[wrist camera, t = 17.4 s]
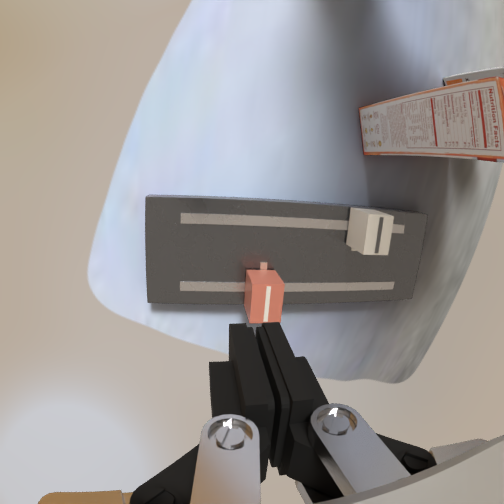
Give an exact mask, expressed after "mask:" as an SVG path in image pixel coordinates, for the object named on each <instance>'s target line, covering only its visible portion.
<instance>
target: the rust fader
mask: <svg viewBox="0 0 504 504" xmlns="http://www.w3.org/2000/svg"><path fill="white" fill-rule="evenodd" d="M284 287H285V284H284V282H283V281H282V279H281V278H280V276H279V275H278V273H277V272H276V271H275V270H246V282H245V297H244V307H245V310H246V314H247V317H248V320H249V323H267V322H279V323H280V322H281V314H282V305H283V296H284Z"/></svg>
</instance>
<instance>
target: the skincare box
mask: <svg viewBox="0 0 504 504" xmlns="http://www.w3.org/2000/svg"><path fill="white" fill-rule="evenodd" d="M495 76H497V77H501V78H504V66H503V67H496V68H490V69H484V70H478V71H472V72H466V73H461V74H456V75H452V76H449V77H445V78H443V80H444V82H445V85H446V86H448V85H453V84H457V83H462V82H467V81H473V80H478V79H484V78H489V77H495Z"/></svg>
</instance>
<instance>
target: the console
mask: <svg viewBox="0 0 504 504" xmlns="http://www.w3.org/2000/svg"><path fill="white" fill-rule="evenodd" d="M351 207H352V208H363V209H374V210H377V211H380V212H383V213H386V214H389V215H392V216H394V220H393V227H392V234H391V240H390V246H389V252H388V255H363V254H361V253H360V252H358V251H356V250H355V249H353V248H352V247H350V246H348V245H347V244H346V241H347V233H348V226H349V218H350V209H351ZM427 216H428V215H426V214H423V213H420V212H414V211H405V210H396V209H387V208H377V207H367V206H356V205H345V204H333V203H320V202H307V201H293V200H277V199H260V198H240V197H217V196H186V195H148V196H146V205H145V243H146V280H147V301H148V303H178V304H244V297H245V282H246V270H275V271H276V272H277V273H278V275H279V276H280V278H281V279H282V281H283V282H284V284H285V287H284V296H283V304H307V303H341V302H365V301H385V300H403V299H411V298H412V294H413V290H414V286H415V281H416V277H417V272H418V267H419V262H420V257H421V252H422V247H423V241H424V235H425V229H426V223H427Z"/></svg>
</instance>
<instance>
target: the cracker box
mask: <svg viewBox="0 0 504 504" xmlns="http://www.w3.org/2000/svg"><path fill="white" fill-rule="evenodd" d="M359 115H360V123H361V132H362V141H363V152H364V155H407V156H432V157H449V158H462V159H474V160H484V161H493V162H504V78H501V77H497V76H495V77H489V78H484V79H478V80H473V81H467V82H462V83H457V84H453V85H448V86H443V87H439V88H434V89H430V90H426V91H421V92H417V93H413V94H409V95H405V96H401V97H397V98H393V99H389V100H386V101H382V102H378V103H375V104H372V105H368V106H364V107H361V108H359Z"/></svg>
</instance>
